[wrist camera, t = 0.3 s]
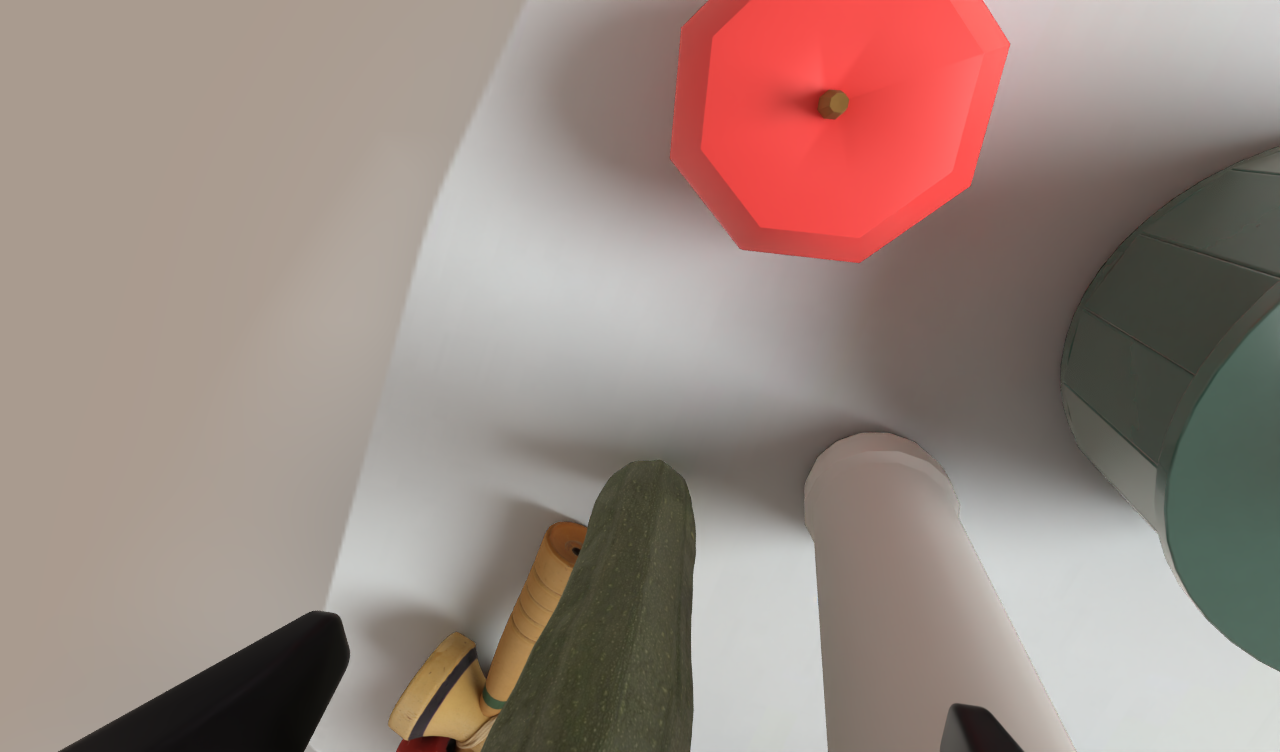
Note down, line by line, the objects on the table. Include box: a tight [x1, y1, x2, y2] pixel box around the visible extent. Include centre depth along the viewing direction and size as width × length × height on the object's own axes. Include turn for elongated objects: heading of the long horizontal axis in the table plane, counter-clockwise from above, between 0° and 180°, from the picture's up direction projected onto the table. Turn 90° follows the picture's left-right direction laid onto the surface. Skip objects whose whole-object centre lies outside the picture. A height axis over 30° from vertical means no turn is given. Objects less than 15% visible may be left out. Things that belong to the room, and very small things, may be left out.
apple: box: [670, 0, 1010, 263], centre depth 15 cm, size 8×8×8 cm
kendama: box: [388, 522, 587, 752], centre depth 28 cm, size 8×6×18 cm
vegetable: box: [480, 460, 696, 752], centre depth 15 cm, size 4×4×20 cm
